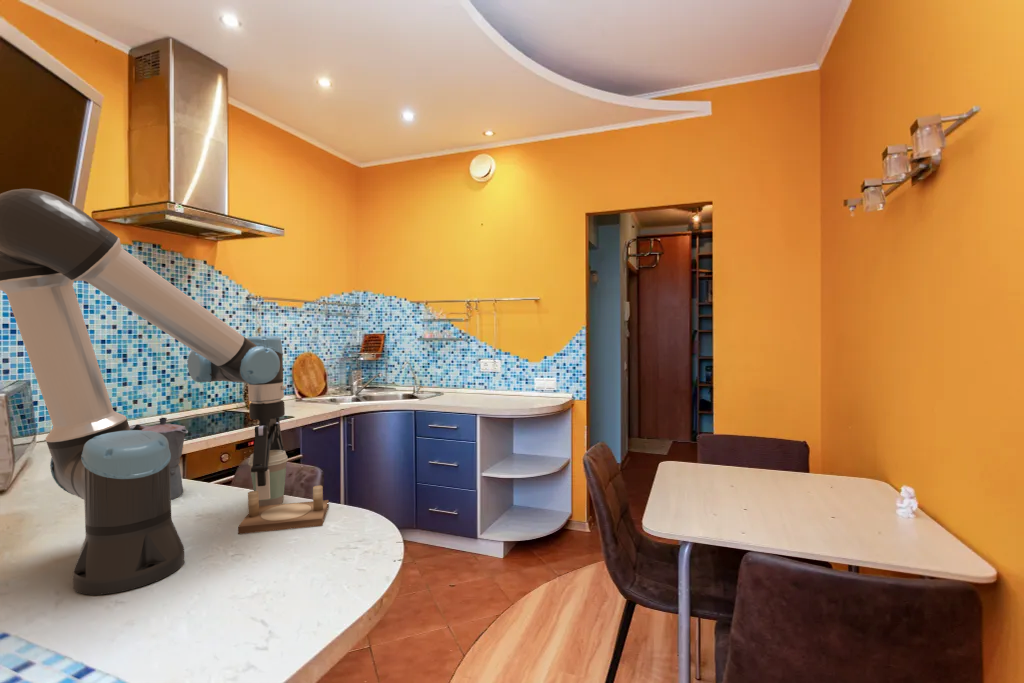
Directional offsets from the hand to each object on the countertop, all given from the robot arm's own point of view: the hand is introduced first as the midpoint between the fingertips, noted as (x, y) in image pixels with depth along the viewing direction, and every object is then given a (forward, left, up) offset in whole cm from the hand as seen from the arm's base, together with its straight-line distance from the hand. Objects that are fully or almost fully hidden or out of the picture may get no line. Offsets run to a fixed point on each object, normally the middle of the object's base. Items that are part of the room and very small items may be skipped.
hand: (270, 489), depth 119 cm
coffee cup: (0, 0, -3) cm, 3 cm away
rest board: (-12, -6, -3) cm, 14 cm away
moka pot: (+13, +28, -3) cm, 31 cm away
